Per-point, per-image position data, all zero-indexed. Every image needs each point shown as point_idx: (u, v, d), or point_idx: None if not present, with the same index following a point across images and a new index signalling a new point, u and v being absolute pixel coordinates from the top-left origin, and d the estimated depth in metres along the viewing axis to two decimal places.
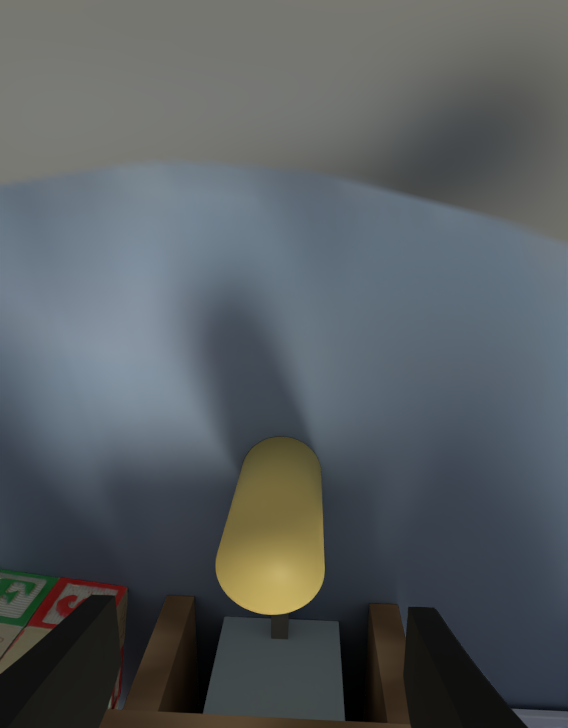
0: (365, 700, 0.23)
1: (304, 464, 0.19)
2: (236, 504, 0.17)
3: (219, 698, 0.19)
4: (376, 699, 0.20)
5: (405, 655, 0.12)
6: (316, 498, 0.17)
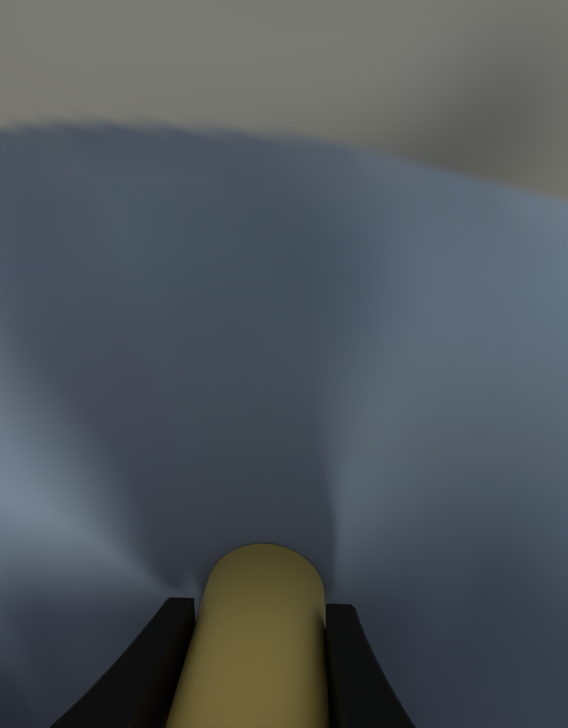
0: None
1: (299, 603, 0.12)
2: (180, 703, 0.10)
3: None
4: None
5: None
6: (318, 677, 0.11)
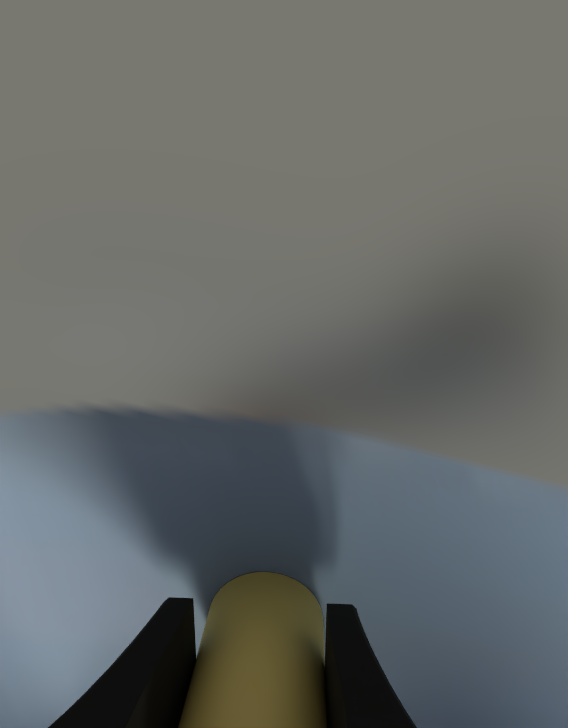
0: None
1: (300, 635, 0.12)
2: None
3: None
4: None
5: (325, 652, 0.13)
6: (318, 711, 0.11)
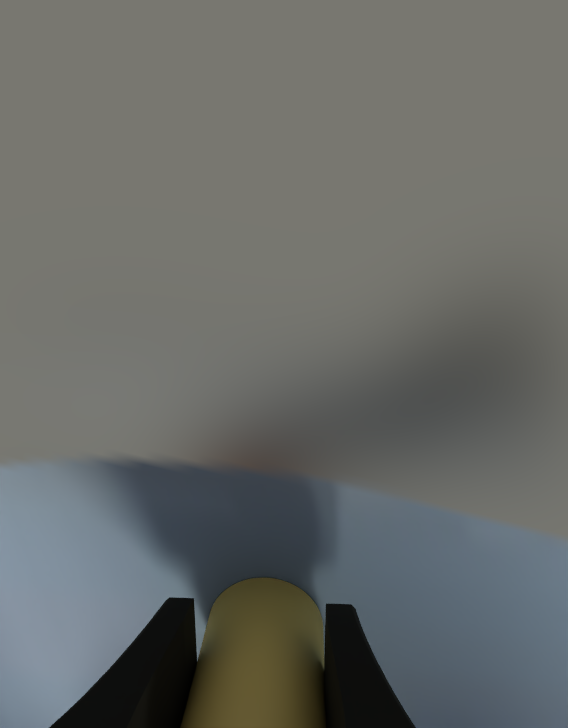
0: None
1: (300, 641, 0.12)
2: None
3: None
4: None
5: None
6: (317, 717, 0.11)
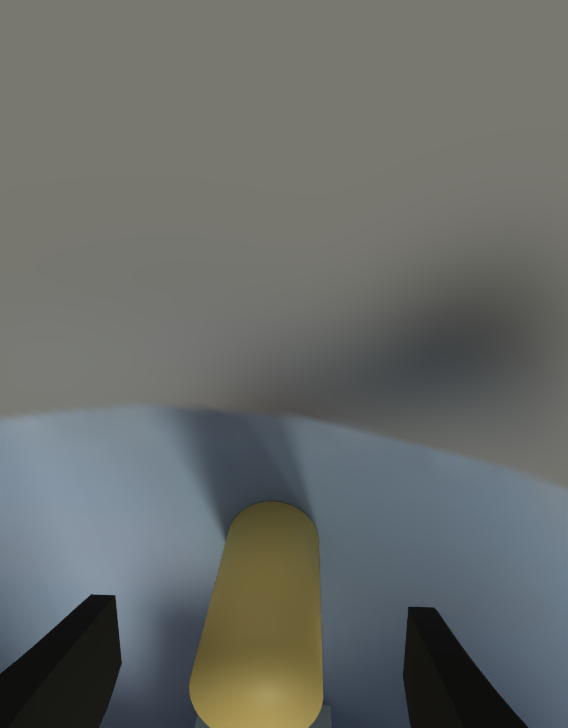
0: None
1: (301, 543, 0.16)
2: (218, 601, 0.14)
3: None
4: None
5: (405, 655, 0.12)
6: (314, 591, 0.15)
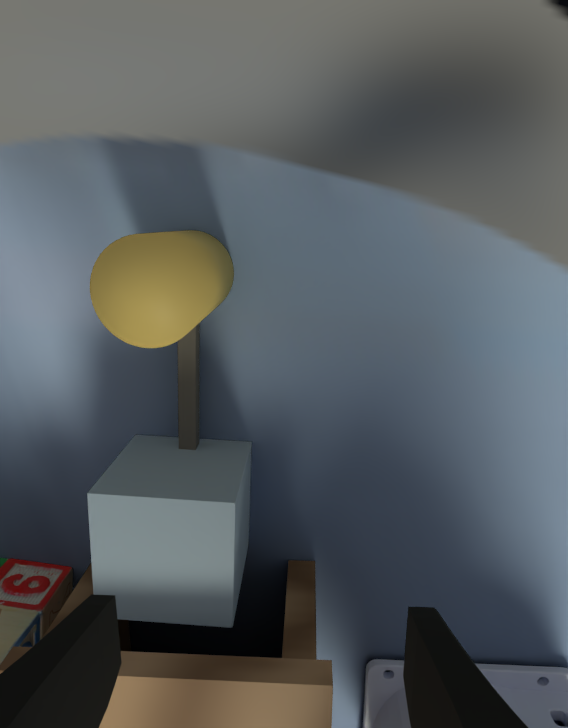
0: None
1: (208, 241, 0.18)
2: None
3: (110, 481, 0.18)
4: None
5: (405, 655, 0.12)
6: (212, 258, 0.17)
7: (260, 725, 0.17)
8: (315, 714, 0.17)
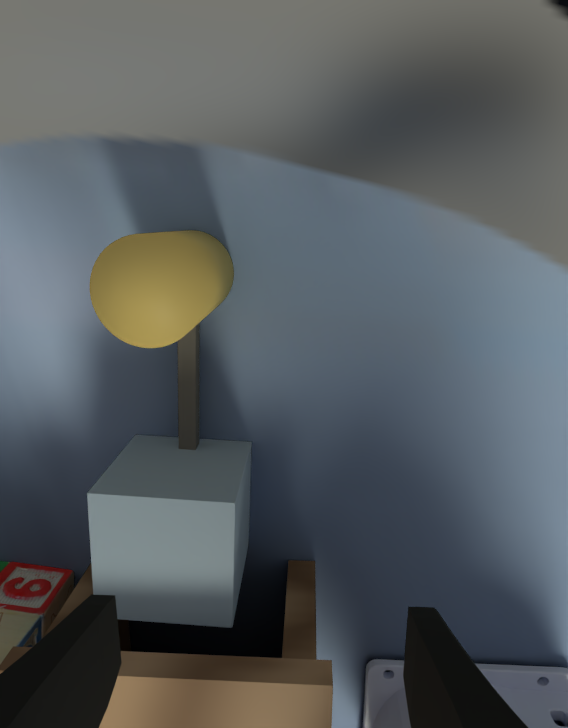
0: None
1: (208, 241, 0.18)
2: None
3: (111, 481, 0.18)
4: None
5: (405, 655, 0.12)
6: (211, 258, 0.17)
7: (260, 725, 0.17)
8: (315, 714, 0.17)
